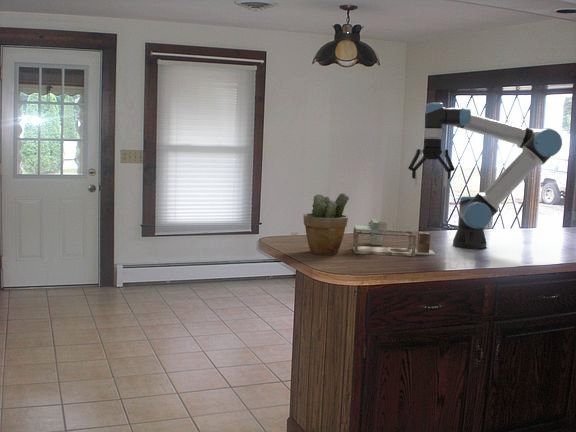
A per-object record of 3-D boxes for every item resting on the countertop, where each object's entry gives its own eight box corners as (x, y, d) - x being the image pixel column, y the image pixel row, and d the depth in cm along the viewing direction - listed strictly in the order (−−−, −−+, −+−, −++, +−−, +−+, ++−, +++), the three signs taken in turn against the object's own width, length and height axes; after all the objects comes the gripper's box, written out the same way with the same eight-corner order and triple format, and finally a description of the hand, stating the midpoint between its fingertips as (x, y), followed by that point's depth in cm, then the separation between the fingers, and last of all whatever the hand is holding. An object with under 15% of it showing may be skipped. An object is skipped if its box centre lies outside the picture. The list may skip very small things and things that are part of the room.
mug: (385, 246, 310) (386, 224, 309) (357, 244, 312) (358, 222, 311) (386, 243, 318) (387, 222, 317) (359, 241, 320) (360, 220, 319)
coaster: (431, 251, 301) (431, 250, 301) (435, 255, 292) (435, 253, 292) (410, 250, 301) (410, 249, 301) (413, 254, 292) (414, 252, 292)
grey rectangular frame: (410, 251, 299) (411, 231, 298) (414, 256, 287) (416, 235, 286) (352, 248, 299) (353, 228, 298) (354, 253, 287) (355, 232, 286)
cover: (375, 228, 298) (375, 219, 298) (378, 232, 286) (378, 222, 285) (354, 227, 298) (354, 218, 298) (356, 231, 286) (356, 221, 286)
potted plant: (315, 257, 273) (318, 194, 270) (293, 249, 289) (296, 190, 286) (354, 255, 282) (357, 194, 279) (330, 248, 298) (334, 190, 295)
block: (427, 250, 299) (428, 232, 298) (429, 252, 294) (430, 234, 294) (416, 250, 299) (418, 231, 298) (418, 252, 295) (419, 233, 294)
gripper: (458, 138, 309) (455, 186, 312) (402, 137, 308) (401, 185, 311) (463, 139, 302) (460, 187, 304) (406, 137, 301) (404, 186, 303)
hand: (430, 186), depth 308 cm, fingers open, 13 cm apart
